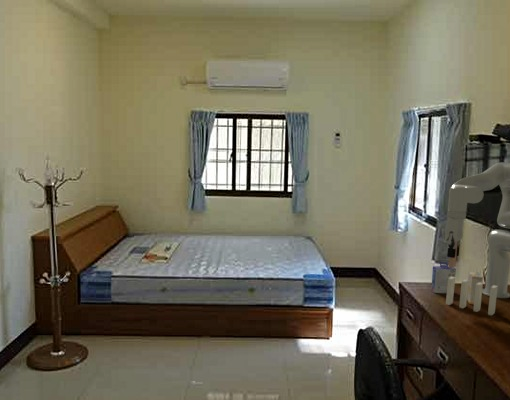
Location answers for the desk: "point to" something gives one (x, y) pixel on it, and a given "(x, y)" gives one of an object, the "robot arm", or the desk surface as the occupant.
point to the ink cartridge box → (441, 277)
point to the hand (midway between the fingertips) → (453, 255)
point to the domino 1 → (453, 260)
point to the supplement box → (473, 285)
